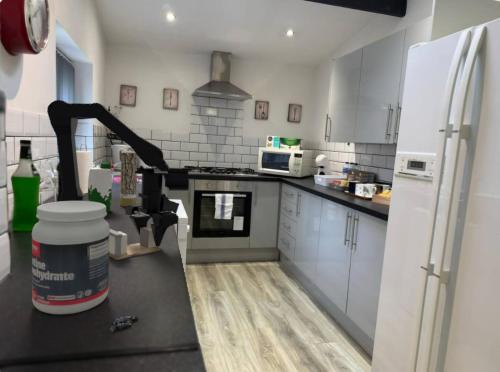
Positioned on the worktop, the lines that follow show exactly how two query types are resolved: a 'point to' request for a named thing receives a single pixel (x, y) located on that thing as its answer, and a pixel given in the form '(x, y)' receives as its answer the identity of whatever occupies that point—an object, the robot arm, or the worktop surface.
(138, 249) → the board
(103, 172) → the milk carton
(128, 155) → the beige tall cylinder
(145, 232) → the stub
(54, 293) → the supplement tub
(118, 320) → the dark grey lumpy piece
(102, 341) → the worktop surface
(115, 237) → the bracketed cream block
